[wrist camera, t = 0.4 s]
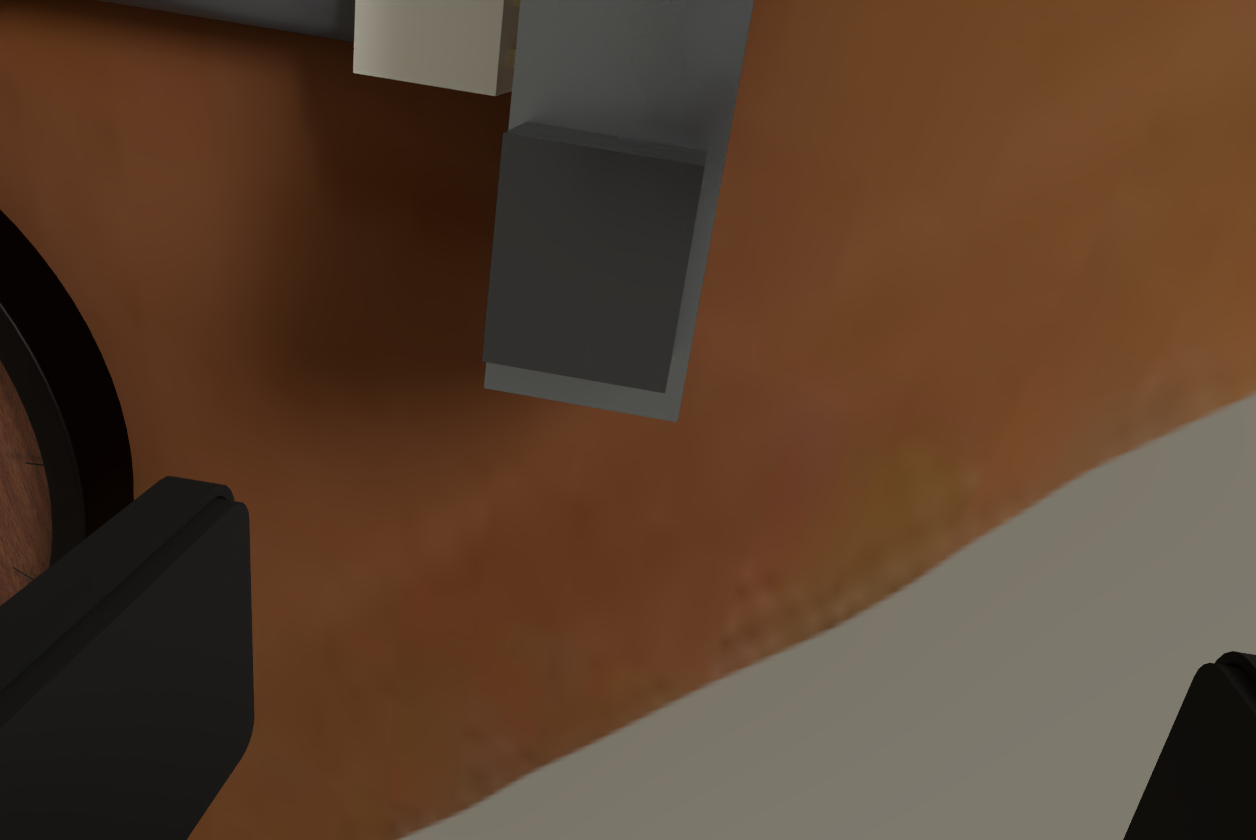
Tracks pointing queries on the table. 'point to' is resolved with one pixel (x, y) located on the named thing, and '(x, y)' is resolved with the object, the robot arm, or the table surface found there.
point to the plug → (390, 34)
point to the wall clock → (51, 421)
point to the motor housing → (609, 197)
